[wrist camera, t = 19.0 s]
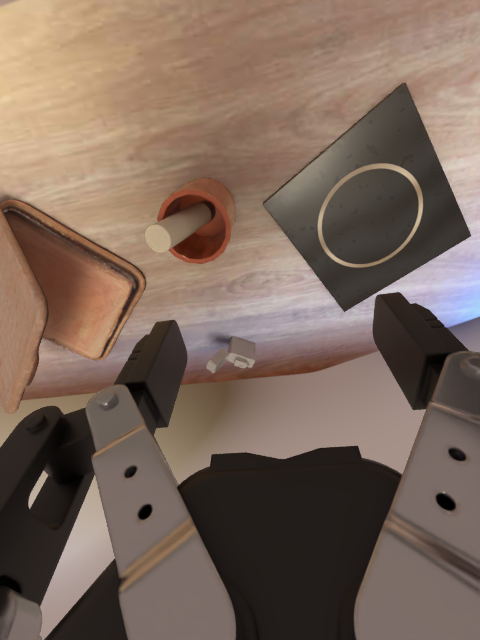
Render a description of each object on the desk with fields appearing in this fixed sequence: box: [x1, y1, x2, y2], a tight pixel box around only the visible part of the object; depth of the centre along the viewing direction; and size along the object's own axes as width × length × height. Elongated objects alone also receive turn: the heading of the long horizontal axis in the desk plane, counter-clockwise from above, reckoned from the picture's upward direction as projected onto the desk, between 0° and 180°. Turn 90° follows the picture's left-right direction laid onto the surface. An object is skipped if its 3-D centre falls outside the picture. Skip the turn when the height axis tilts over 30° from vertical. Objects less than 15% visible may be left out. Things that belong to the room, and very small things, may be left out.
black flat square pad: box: [263, 83, 471, 312], centre depth 36 cm, size 20×18×1 cm
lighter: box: [206, 336, 255, 373], centre depth 44 cm, size 7×2×8 cm, turn 70°
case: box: [0, 200, 145, 414], centre depth 37 cm, size 20×21×16 cm
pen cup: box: [157, 178, 235, 264], centre depth 33 cm, size 7×7×9 cm
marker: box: [145, 201, 215, 253], centre depth 31 cm, size 3×3×12 cm
